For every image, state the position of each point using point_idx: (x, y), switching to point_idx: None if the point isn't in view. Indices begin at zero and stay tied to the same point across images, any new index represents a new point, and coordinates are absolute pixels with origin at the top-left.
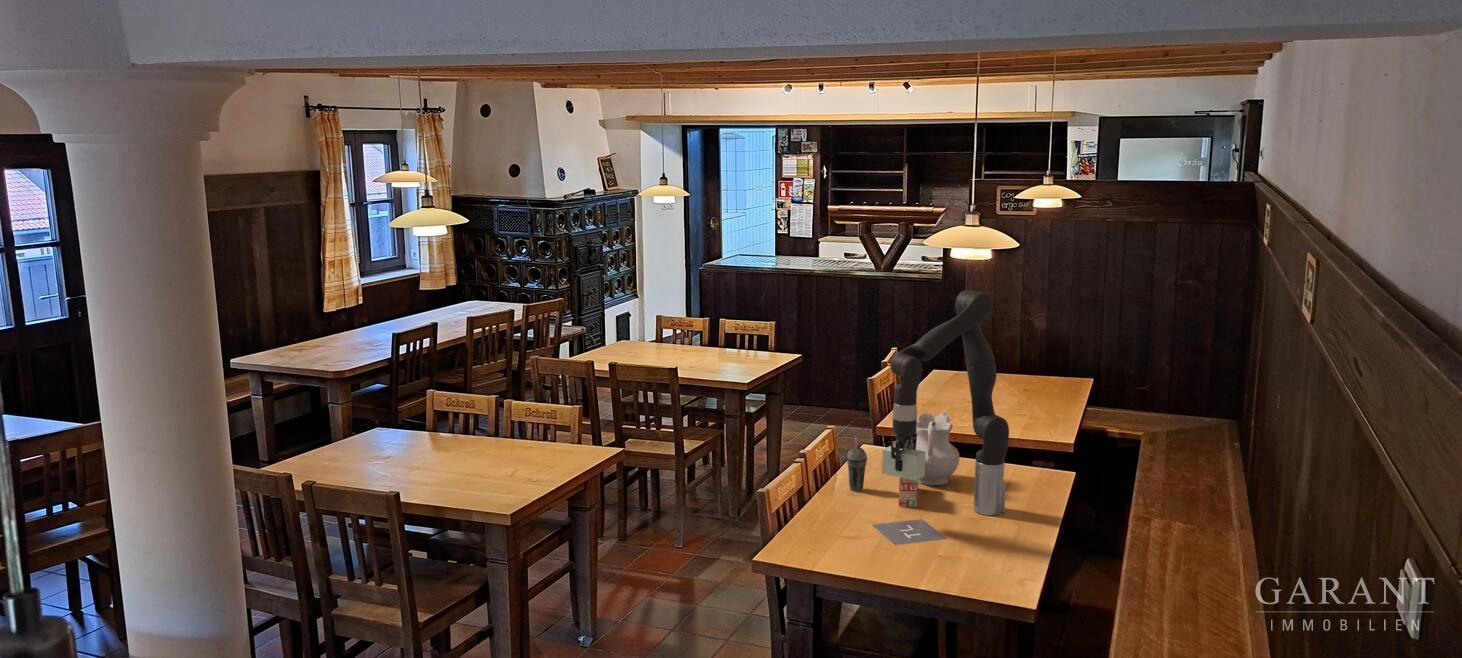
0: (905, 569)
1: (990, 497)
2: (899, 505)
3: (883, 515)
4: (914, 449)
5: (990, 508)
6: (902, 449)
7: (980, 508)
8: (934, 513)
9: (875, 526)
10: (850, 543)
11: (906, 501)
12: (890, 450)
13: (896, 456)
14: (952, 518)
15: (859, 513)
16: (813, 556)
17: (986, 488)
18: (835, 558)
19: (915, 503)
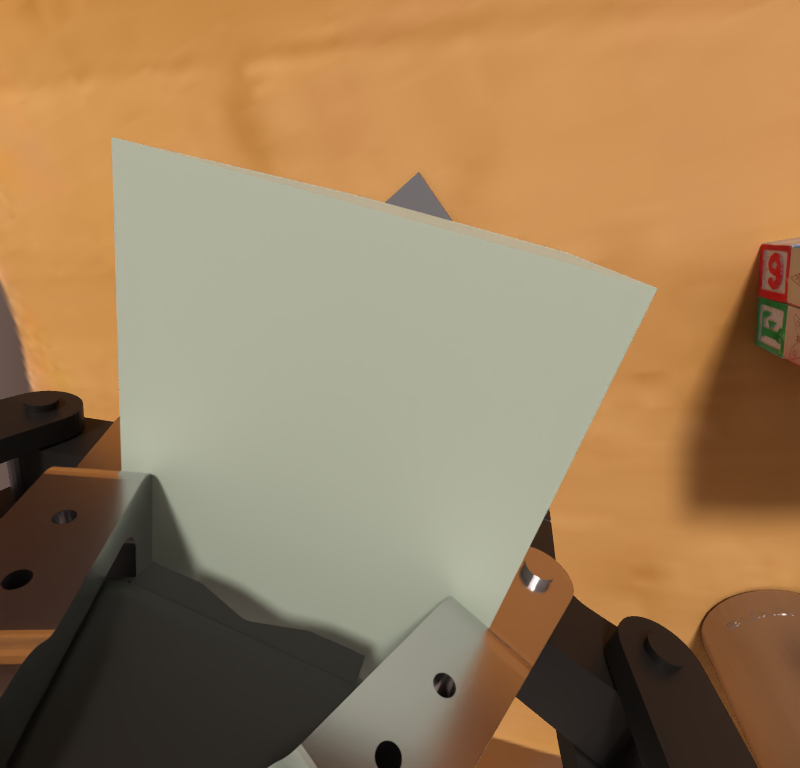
0: (111, 388)
1: (737, 718)
2: (768, 249)
3: (590, 192)
4: (567, 739)
5: (713, 665)
6: (345, 582)
7: (724, 628)
8: (685, 434)
9: (401, 200)
10: (190, 149)
11: (782, 293)
12: (157, 354)
13: (11, 482)
14: (628, 506)
15: (590, 35)
16: (13, 45)
17: (767, 755)
18: (49, 143)
19: (774, 344)
